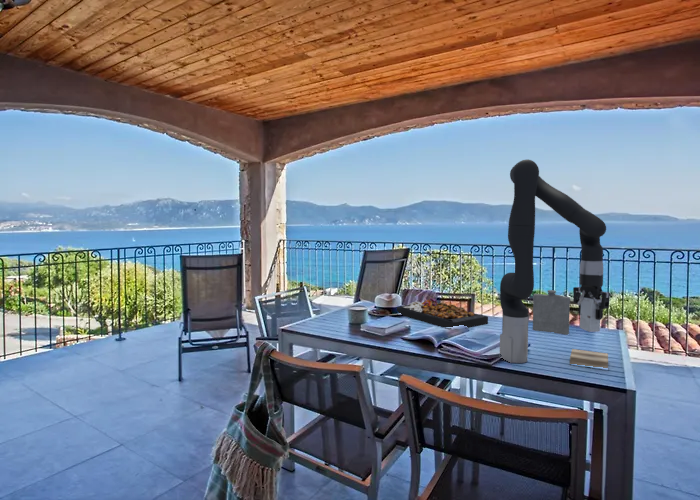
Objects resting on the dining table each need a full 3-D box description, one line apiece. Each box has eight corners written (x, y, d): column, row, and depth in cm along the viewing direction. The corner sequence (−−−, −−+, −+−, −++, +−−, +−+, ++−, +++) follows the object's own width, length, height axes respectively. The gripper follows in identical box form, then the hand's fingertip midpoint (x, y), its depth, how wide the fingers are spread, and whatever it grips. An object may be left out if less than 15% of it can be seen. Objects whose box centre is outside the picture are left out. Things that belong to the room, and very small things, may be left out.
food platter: (396, 314, 246) (396, 297, 245) (428, 310, 259) (428, 293, 258) (453, 331, 208) (454, 310, 207) (487, 324, 221) (488, 305, 221)
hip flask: (531, 330, 208) (532, 289, 207) (533, 328, 212) (534, 288, 210) (568, 335, 199) (569, 292, 198) (569, 333, 202) (570, 291, 201)
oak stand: (607, 370, 151) (608, 362, 151) (569, 365, 157) (570, 357, 157) (607, 361, 161) (607, 353, 161) (571, 356, 168) (572, 348, 167)
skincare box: (579, 328, 162) (579, 296, 161) (590, 327, 162) (590, 296, 161) (589, 332, 156) (590, 299, 155) (601, 331, 156) (602, 298, 155)
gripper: (567, 271, 163) (566, 314, 164) (601, 275, 149) (599, 322, 150) (582, 270, 165) (581, 312, 166) (616, 274, 152) (615, 320, 153)
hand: (590, 317), depth 158 cm, fingers closed on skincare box, 6 cm apart
